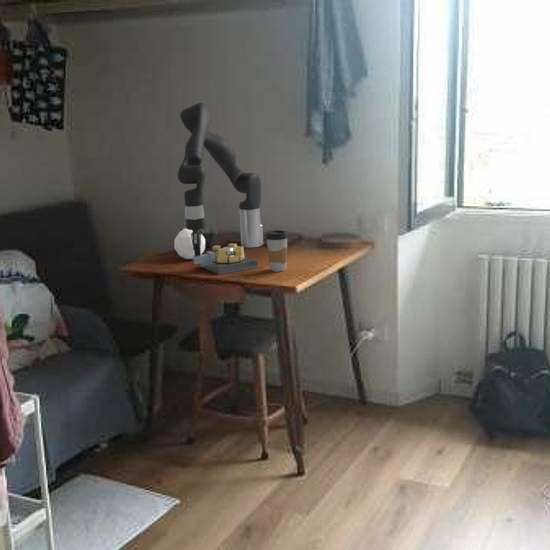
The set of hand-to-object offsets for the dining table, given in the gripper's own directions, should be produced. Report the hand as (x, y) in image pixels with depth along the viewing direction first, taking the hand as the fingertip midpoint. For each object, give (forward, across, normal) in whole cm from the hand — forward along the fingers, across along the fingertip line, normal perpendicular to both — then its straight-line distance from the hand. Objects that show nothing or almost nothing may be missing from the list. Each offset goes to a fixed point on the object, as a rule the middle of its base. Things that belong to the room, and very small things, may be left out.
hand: (197, 259), depth 288 cm
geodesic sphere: (+5, -22, -4) cm, 23 cm away
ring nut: (+1, 0, +8) cm, 8 cm away
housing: (+4, -2, +12) cm, 13 cm away
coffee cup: (+4, +7, +32) cm, 33 cm away
